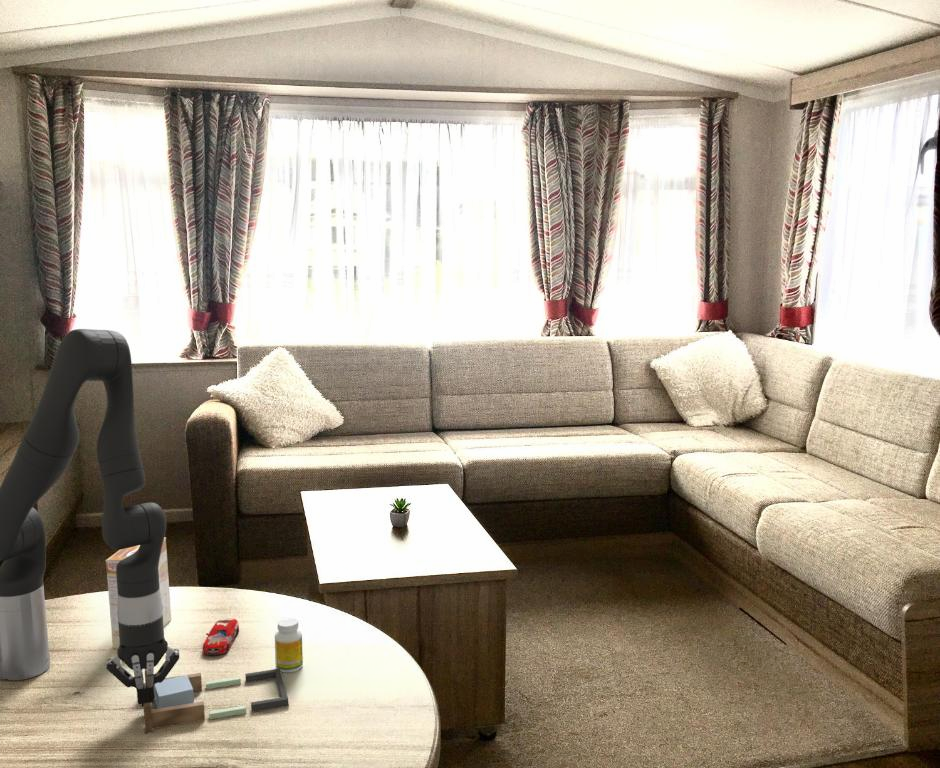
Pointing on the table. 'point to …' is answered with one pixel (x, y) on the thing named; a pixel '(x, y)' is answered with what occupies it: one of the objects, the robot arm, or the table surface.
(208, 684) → the rails
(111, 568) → the coffeecake box
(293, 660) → the supplement bottle
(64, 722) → the table surface
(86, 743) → the table surface
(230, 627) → the race car
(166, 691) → the block
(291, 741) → the table surface
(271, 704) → the frame
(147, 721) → the channel
